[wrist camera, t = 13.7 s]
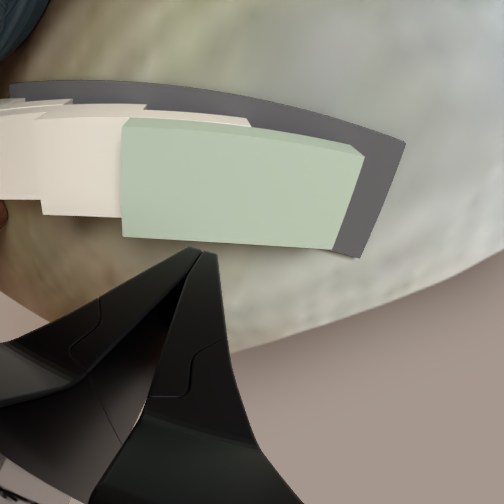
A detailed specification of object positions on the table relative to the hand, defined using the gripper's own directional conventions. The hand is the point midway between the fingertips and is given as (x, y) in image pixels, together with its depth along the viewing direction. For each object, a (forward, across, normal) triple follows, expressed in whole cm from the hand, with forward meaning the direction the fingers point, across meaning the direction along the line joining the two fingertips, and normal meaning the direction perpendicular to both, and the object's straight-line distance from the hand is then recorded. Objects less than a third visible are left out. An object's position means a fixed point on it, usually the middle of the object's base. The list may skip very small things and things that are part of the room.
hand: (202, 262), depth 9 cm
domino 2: (+7, 0, 0) cm, 7 cm away
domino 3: (+7, -5, 0) cm, 9 cm away
